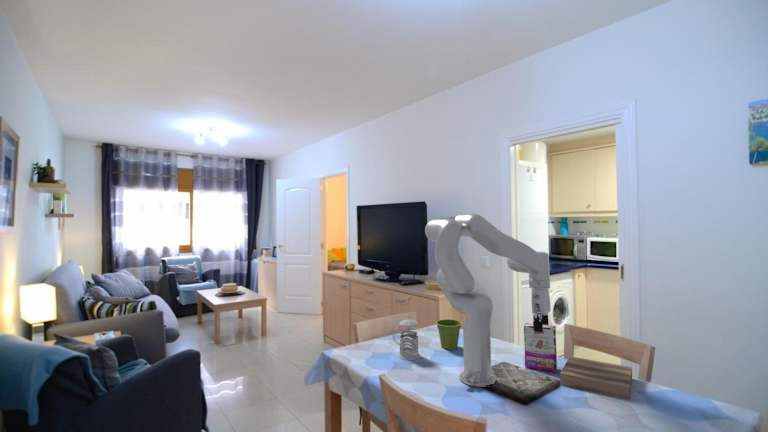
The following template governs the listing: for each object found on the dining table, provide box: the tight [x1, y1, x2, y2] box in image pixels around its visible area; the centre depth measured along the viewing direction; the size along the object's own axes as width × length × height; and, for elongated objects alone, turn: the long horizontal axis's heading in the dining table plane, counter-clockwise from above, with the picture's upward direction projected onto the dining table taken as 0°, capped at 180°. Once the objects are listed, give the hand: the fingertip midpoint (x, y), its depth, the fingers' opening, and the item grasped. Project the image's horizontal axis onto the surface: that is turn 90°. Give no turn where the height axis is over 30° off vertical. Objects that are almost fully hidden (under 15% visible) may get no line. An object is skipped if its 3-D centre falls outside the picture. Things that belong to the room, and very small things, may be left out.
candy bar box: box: [523, 322, 558, 373], centre depth 143 cm, size 11×5×16 cm, turn 62°
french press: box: [392, 296, 421, 361], centre depth 159 cm, size 10×12×25 cm
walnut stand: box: [559, 355, 633, 401], centre depth 130 cm, size 20×20×4 cm
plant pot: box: [435, 318, 463, 351], centre depth 169 cm, size 12×12×11 cm
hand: (541, 328), depth 144 cm, fingers open, 9 cm apart
